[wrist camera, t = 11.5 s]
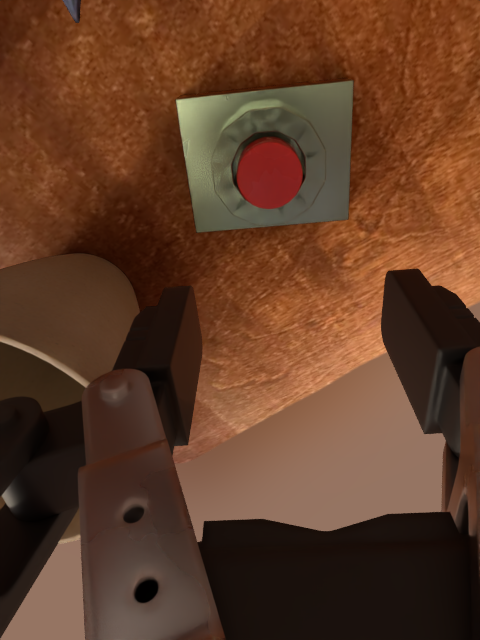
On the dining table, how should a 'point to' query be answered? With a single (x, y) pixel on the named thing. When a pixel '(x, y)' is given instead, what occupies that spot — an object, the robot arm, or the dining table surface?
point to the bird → (73, 8)
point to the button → (269, 173)
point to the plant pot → (61, 330)
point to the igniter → (263, 121)
